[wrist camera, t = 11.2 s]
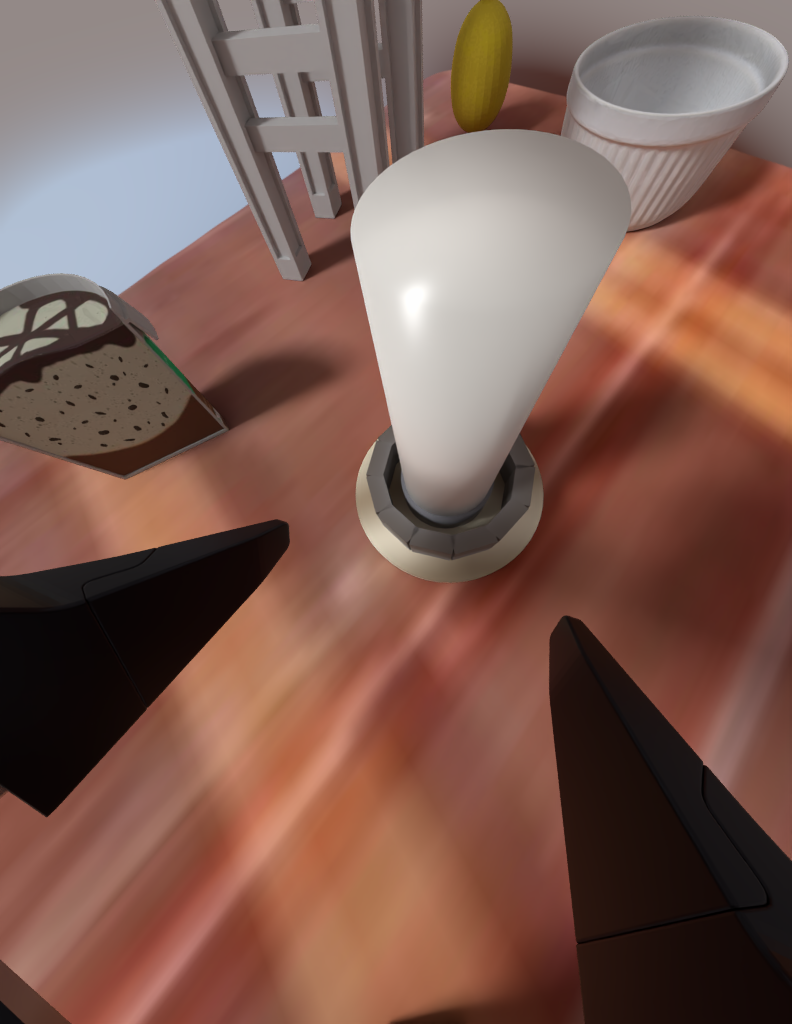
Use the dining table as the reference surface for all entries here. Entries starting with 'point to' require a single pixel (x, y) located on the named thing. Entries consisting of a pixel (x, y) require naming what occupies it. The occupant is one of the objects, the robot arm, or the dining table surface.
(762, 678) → the dining table surface
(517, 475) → the socket
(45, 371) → the food container
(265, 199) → the stool
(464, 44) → the lemon
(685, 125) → the ramekin
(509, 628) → the dining table surface
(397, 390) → the white smooth rounded part
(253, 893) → the dining table surface
